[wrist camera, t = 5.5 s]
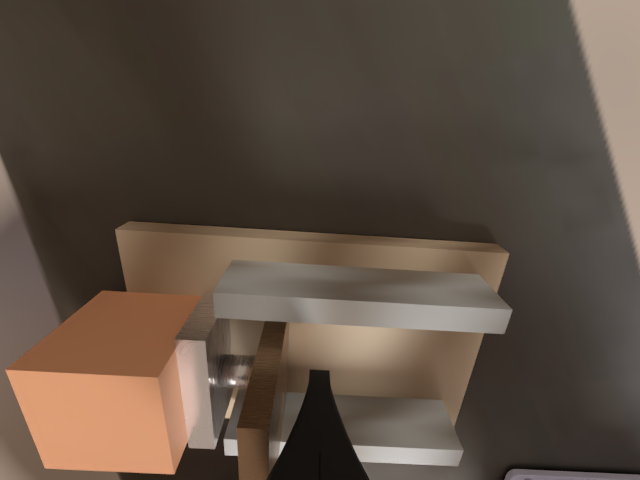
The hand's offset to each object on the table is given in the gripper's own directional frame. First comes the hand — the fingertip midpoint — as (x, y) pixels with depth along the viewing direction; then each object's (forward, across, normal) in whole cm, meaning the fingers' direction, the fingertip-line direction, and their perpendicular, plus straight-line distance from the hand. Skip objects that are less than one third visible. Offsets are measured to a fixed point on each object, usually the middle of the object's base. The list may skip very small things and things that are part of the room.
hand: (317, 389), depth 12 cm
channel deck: (+3, 0, 0) cm, 4 cm away
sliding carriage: (+2, +3, 0) cm, 4 cm away
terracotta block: (+2, +7, 0) cm, 7 cm away
